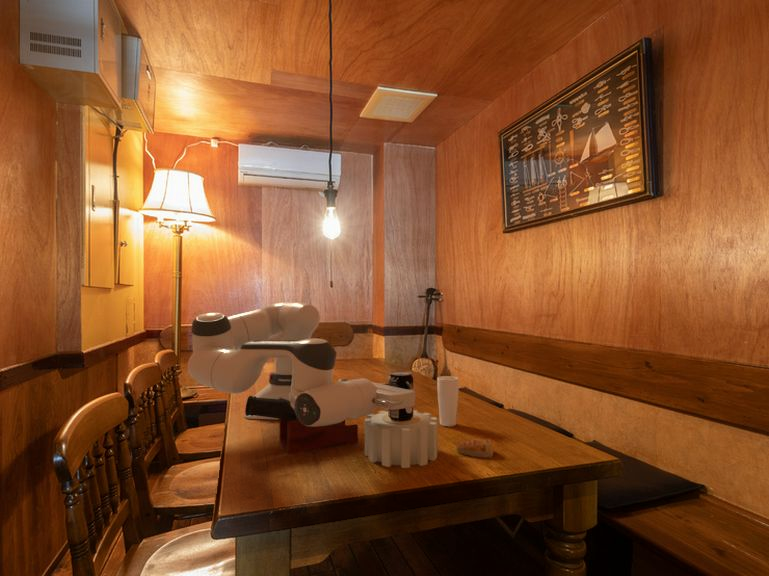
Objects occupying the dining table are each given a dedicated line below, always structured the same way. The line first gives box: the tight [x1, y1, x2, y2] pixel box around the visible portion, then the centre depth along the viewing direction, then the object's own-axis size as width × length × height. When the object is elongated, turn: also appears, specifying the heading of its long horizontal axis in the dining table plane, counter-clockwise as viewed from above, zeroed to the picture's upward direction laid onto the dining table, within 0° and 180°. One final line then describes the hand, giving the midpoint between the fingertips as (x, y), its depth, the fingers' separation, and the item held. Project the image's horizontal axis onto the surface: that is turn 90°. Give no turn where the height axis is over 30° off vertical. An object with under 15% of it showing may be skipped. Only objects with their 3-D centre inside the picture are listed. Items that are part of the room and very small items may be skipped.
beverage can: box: [387, 370, 414, 421], centre depth 115 cm, size 7×7×12 cm
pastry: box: [456, 438, 494, 459], centre depth 115 cm, size 9×7×4 cm
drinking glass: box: [436, 375, 460, 428], centre depth 140 cm, size 7×7×15 cm
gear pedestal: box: [364, 409, 439, 469], centre depth 115 cm, size 19×19×9 cm
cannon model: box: [244, 395, 359, 455], centre depth 121 cm, size 13×30×15 cm, turn 116°
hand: (399, 388), depth 114 cm, fingers open, 8 cm apart
